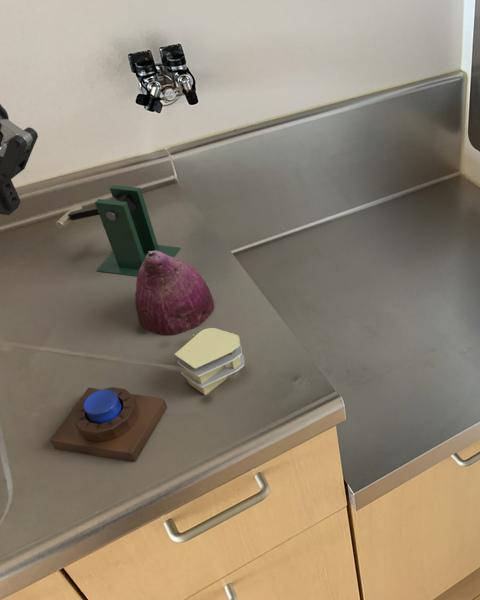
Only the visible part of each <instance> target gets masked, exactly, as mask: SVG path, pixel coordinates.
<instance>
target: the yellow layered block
mask: <svg viewBox="0 0 480 600" xmlns="http://www.w3.org/2000/svg"><path fill="white" fill-rule="evenodd" d="M242 352H243V351H242V343H241V341H240V335H238V334H235V333H232V332H229V331H226V330H222V329H219V328H215V327H209V328H205V329H202V330H200V331H199V332H198V333H197V334H196V335H195V336H194V337H192V338H191V339H190V340H189V341H188V342H187V343H185V344H184V345H183V346H182V347H181V348H180V349H179V350H178V351H176V352H175V353H174V355H175V356H176V357H178V358H179V359H178V360H177V361H176V362H177V364H178V365H179V366H181V367H183V370H182V371H181V372H180V374H181V375H182V376H183V377H184V378H185V379H186V380H187V384H189V385H190V386H192V388H194V389H195V390H197V391H198V392H200V393H201V394H202V395H204V396H206V395H207V394H209V393H211V392H212V391H213V390H214V389H216V387H218V386H219V385H220V384H222V383H223V382H224V381H225V380H227V379H228V376H230V375H233V374H235V373H237V372H238V371H239V370H241V369H242V368H243V367H244V366H245V356H244V353H242Z"/></svg>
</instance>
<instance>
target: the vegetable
mask: <svg viewBox="0 0 480 600" xmlns="http://www.w3.org/2000/svg"><path fill="white" fill-rule="evenodd" d="M134 294H135V295H134V296H135V301H134V302H135V309H136V314H137V319H138V323H139V325H140V326H141V327H143V328H144V329H146V330H147V331H149V332H152V333H154V334H157V335H160V336H176V335H177V336H178V335H180V334H183V333H186V332H187V331H189V330H193V329H196V328H198V327H200V326H202V324H203V323H204V322H206V320H207V319H209V317H210V316H211V315H212V314H213V313H214V310H215V302H214V297H213V295H212V293H211V290H210V288H209V286H208V283H207V282H206V281H205V279H204V278H203V277H202V275H201V274H200V273H199V272H198V271H197V270H196V269H195V268H194V267H193V266H191V265H190V264H189V263H187V262H186V261H184V260H181V259H180V258H177V257H176V256H175V257H171V256H169V255H166V254H164V253H162V252H160V251H156V250H155V251H148V254H147V255H146V257H145V260H144V262H143V263H142V265H141V267H140V269H139V272H138V276H137V277H136V282H135V293H134Z"/></svg>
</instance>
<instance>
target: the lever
mask: <svg viewBox="0 0 480 600" xmlns="http://www.w3.org/2000/svg"><path fill="white" fill-rule="evenodd" d="M109 200H112V201H122V202H127V204H128V208H129V211H130V214H131V213H132V212H133V211H134V210H135V208H136V207H137V206H136V204H135V203H134V201H133V200H132V198H131V197H130V195H129V194H128V193H127V194H122V195H118V196H113V197H111V198H110V199H109ZM96 216H100V215H99V212H98V210H97V207H96V205H95V206H92V207H86V208H83V207H82V206H81V204H77V203H76V204H74V205H73V206H72V207H71V208H69V209H68V211H66V213H64V214H63V215H62V216H61V217H59V219H58V220H57V221H56V222H55V226H56V228H58V229H60V230H63V229H64V230H65V228H66V227H67V226H69V224H71V222H72V221H75V220H81V219H85V218H86V219H87V218H90V217H96Z"/></svg>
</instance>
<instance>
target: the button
mask: <svg viewBox="0 0 480 600" xmlns="http://www.w3.org/2000/svg"><path fill="white" fill-rule="evenodd" d="M84 409H85V411H86V413H87V415H88V417H89V419H90V420H91V421H92V422H94V423H106V422H109V421H111V420H112V419H114V418H115V417H117V416H118V415H119V413H120V411H121V403H120V401H119V399H118V396H117V394H116V393H115V392H114V391H111V390H100V391H97V392H95V393H93V394H91V395H90V396H89V397H88V398H87V399H86V401H85V403H84Z"/></svg>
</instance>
